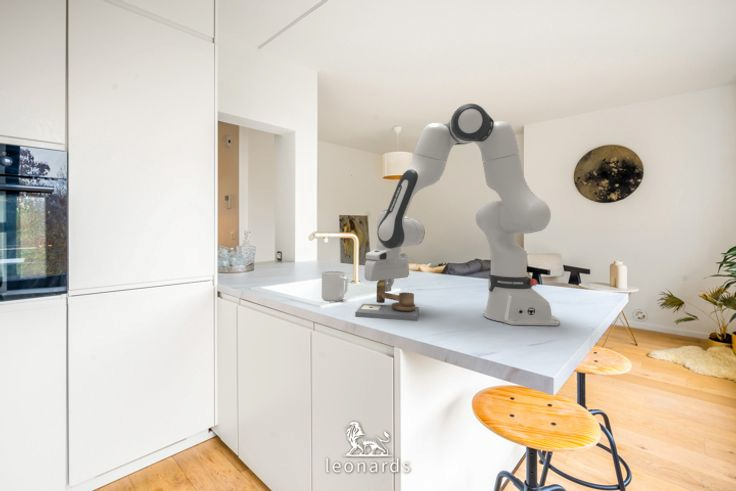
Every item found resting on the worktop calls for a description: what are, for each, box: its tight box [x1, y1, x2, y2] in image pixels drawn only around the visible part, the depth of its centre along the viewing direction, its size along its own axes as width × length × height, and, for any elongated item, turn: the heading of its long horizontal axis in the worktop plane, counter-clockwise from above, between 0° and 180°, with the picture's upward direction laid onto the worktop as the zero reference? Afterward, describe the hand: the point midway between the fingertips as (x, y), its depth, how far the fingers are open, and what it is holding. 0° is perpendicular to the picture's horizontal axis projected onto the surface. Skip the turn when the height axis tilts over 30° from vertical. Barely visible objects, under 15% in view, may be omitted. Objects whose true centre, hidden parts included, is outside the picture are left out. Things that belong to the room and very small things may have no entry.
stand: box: [354, 303, 420, 321], centre depth 117 cm, size 20×13×2 cm, turn 80°
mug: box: [321, 270, 349, 303], centre depth 137 cm, size 12×9×11 cm
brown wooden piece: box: [376, 280, 416, 311], centre depth 120 cm, size 16×8×8 cm, turn 44°
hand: (387, 291), depth 128 cm, fingers closed
